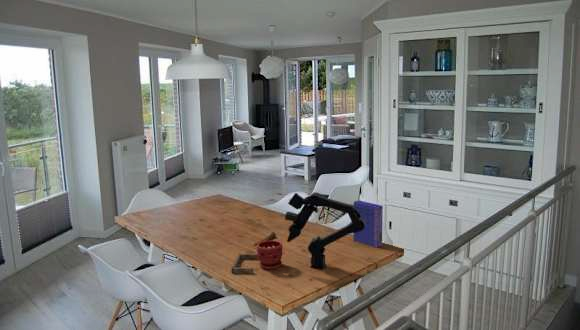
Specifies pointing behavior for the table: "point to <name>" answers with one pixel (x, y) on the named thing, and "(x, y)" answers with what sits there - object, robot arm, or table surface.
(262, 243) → the plant pot
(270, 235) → the primitive tool
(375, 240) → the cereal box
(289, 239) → the robot arm
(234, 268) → the walnut corral
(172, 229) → the table surface
